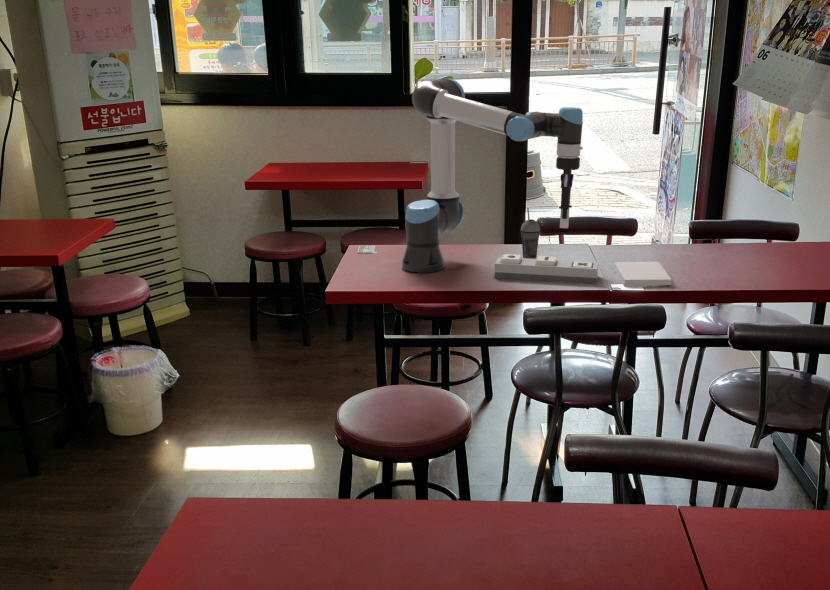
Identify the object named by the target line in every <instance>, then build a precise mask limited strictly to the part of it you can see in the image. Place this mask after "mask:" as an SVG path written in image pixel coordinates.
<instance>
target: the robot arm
mask: <svg viewBox="0 0 830 590" xmlns="http://www.w3.org/2000/svg"><path fill="white" fill-rule="evenodd" d="M411 96H412V97H411V101H412V105H413V106H414V109H415V110H416V111H417V112H419V113H420V114H422V115H424V116H426V120H427V121H428V122H429V123H430V168H431V169H430V170H431V172H430V175H431V177H430V178H431V179H430V185H431V186H430V187H431V189H430V191H429V192H428V194H427V196H426V199H421V200H416V201H413V202H410V203H408V205H407V206H406V208H405V209H406V210H405V227H406V228H405V229H406V230H405V231H406V232H405V233H406V248H405V251H404V255H403V258H402V260H401V268H403V269H402V270H404V271H406V270H407V271H406V272H409V271H410V273H415V272H417V274H419V273H420V274H428V272H430V273H435V272H439V271H440V272H441V271H442V270H444V269H445V260H444V259H445V258H444V257H443V253H442V251H441V248H440V234H444V233H446V232H449V231H453V230H454V229H456V228H457V227H459V226H461V224H462V223H463V221H464V218H465V215H466V211H465V206H464V204H463V203H462V201H461V200H460V194H459V193H458V192H457V191H456V122H460V123H463V124H468V125H470V126H474V127H477V128H481V129H484V130H488V131H491V132H495V133H498V134H501V135H505V136H508V137H509V138H510V140H512V141H515V142H524V141H527V140H532V139H536V138H539V137H553V138H557V141H556V142H557V143H556V156H557V157H556V161H555V167H556V169H558V170H563V172H562V173H561V174H560V188H561V195H560V196H561V197H560V199H561V200H560V206H558V209H559V210H560V215H559V216H560V218H559V219H560V220H559V228H560V229H569V221H570V209H572V206H573V205H571V191H572V187H573V180H574V178H575V177H574V175H575V174H574V173H572V171H576V170H579V169H580V166H581V165H580V164H581V158H580V156H581V151H582V150H584V149H583V146H582V144H581V143H582V133H583V123H584V121H583V120H584V119H583V109H582V108H580V107H574V106H573V107H571V106H570V107H569V106H566V107H564V106H563V107H560V108H559V110H558V113H555V112H554V113H551V112H540V111H527V112H526V113H525V114H522V113H518V112H514V111H510V110H508V109H504V108H501V107H497V106H493V105H491V104H485V103H482V102H479V101H475V100H473V99H468V98H466V94H465V90H464V88H463V86H462V85H461V84H460V83H459V82H458V81H457V80H455V79H452V78H445V77H444V78H438V79H437V78H436V79H426V80H423V81H421V82H419V83H418V84H416V86H415V87H414V89H413V92H412V95H411Z"/></svg>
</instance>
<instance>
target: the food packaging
mask: <svg viewBox="0 0 830 590" xmlns="http://www.w3.org/2000/svg"><path fill="white" fill-rule="evenodd" d="M613 265H614V266H613V267H614V270H615V274H616V275H617V277H618V279H619V280H620V283H621V284H622V285H623V287H630V288H631V287H634V288H636V287H639V288H640V287H641V288H643V287H644V288H645V287H646V288H647V287H654V288H655V287H656V288H657V287H661V286H662V287H663V286H664V287H665V286H672V278H671V277H670V276H669V274H668V272H667V271H666V270H665V269H664V267H663V266H662V264H661V263H660V262H659V261H614V264H613Z"/></svg>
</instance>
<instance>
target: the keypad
mask: <svg viewBox="0 0 830 590" xmlns="http://www.w3.org/2000/svg"><path fill="white" fill-rule="evenodd" d="M502 257H503V256H498V258H497V259H496V261H495V263H494V272H493V274H494V277H497V278H496V279H507V278H510V279H509V280H524V279H530V280H529V281H541V280H546V281H545V282H558V281H563V283H575V282H579V283H580V284H592V283H596V282H597V281H598V277H599V275H598V273H599V262H598V261H590V262H591V263H592V268H581V267H573V264H574V262H586V260H585V261H583V260H562V259H556V266H544V265H537V259H538V258H536V259H528V258H523V257H521V263H520V264H507V263H501V258H502ZM494 277H493V278H494ZM498 277H499V278H498ZM564 281H565V282H564ZM596 284H597V283H596Z"/></svg>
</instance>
